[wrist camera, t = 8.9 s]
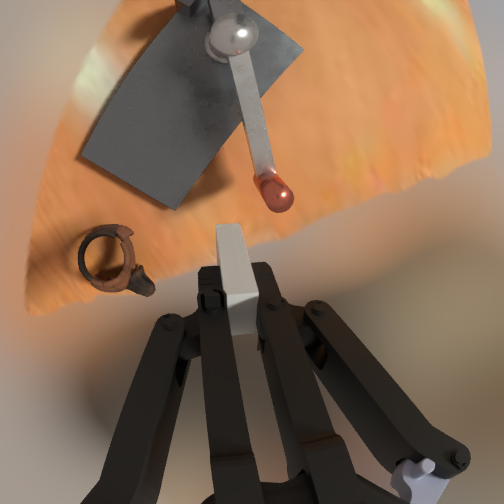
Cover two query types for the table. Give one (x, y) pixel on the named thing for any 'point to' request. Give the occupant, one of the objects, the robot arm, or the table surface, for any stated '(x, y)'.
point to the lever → (247, 95)
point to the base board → (180, 104)
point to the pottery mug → (125, 279)
